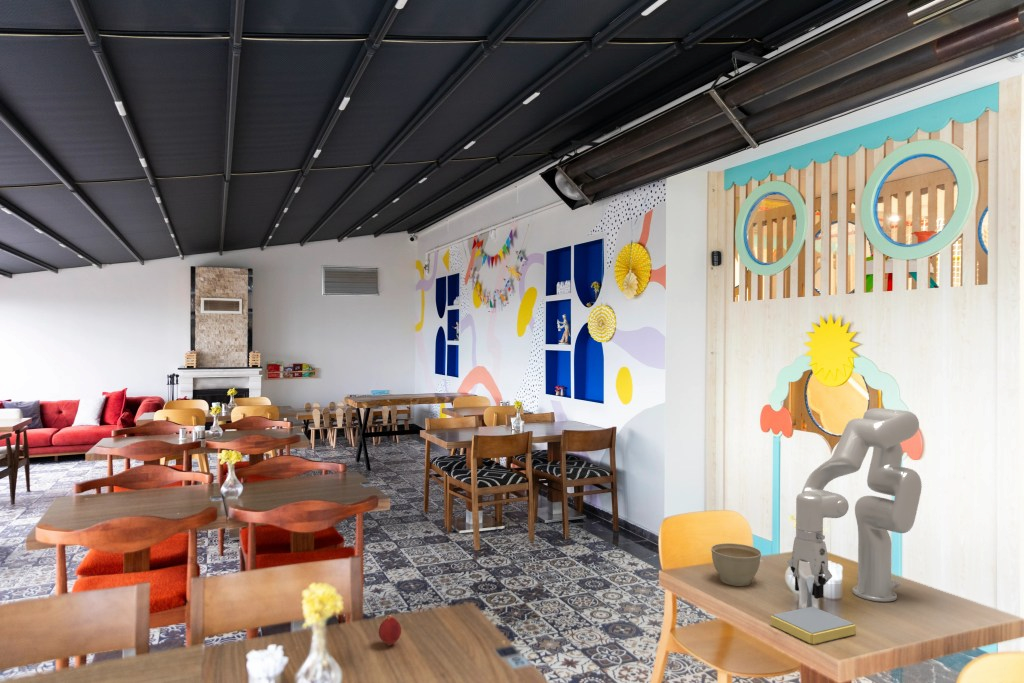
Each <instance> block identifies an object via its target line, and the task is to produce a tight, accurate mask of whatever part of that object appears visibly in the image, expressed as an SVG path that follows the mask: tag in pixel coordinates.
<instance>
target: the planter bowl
mask: <svg viewBox="0 0 1024 683" xmlns="http://www.w3.org/2000/svg"><path fill="white" fill-rule="evenodd" d="M710 551H711V558H712V564H713V566H714V569H715V570H716V572H717V574H718V575H719V577H720V581H721V582H722V583H724V584H726V585H730V586H733V587H746V586H749V585H751V582H752V580H753V578H755V576H756V574H757V573H758V570H759V568H760V564H761V557H762V552H761V550H760V549H758V548H756V547H753V546H750V545H747V544H739V543H732V542H731V543H729V542H726V543H725V542H723V543H718V544H714V545H712V546H711V548H710Z"/></svg>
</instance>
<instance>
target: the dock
mask: <svg viewBox="0 0 1024 683" xmlns="http://www.w3.org/2000/svg"><path fill="white" fill-rule="evenodd" d="M770 625H771V626H772V627H775V628H777V629H779V630H781V631H783V632H785V633H788V634H790V635H792V636H793V637H795V638H798V639H800V640H802V641H804V642H806V643H808V644H811V645H816V644H820V643H825V642H828V641H832V640H833V641H834V640H837V639H840V638H844V637H845V638H846V637H849V636H854V635H856V634H857V633H856V632H857V630H856V629H857V626H856V624H855V623H854V622H851V621H849V620H846V619H844V618H841V617H840V616H837V615H834V614H832V613H829V612H827V611H825V610H823V609H821V608H820V609H818V608H815V607H808V608H803V609H799V608H798V609H793V610H790V611H785V612H784V611H783V612H780V613H774V614H772V615H771V616H770Z"/></svg>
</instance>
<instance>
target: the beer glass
mask: <svg viewBox="0 0 1024 683" xmlns="http://www.w3.org/2000/svg"><path fill="white" fill-rule="evenodd" d="M819 574H820V572H819ZM818 578H819V580H820V576H818ZM797 581H798V587H799V591H798V592H799V597H798V598H799V600H798V603H797V604H798V606H797V608H798V609H803V608H808V607H815V608H818V609H820V610H821V608H820V602H819V598H818V599H816V598H814V585H816V583H815V580H814V575H812V573H811V568H810V563H809V562H805V561H802V560H799V559H798V560H797Z"/></svg>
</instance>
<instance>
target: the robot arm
mask: <svg viewBox="0 0 1024 683" xmlns="http://www.w3.org/2000/svg"><path fill="white" fill-rule="evenodd" d="M919 428H920V421H919V418H918V417H917V415H916V414H915V413H913V412H911V411H908V410H902V409H890V408H882V407H881V408H880V407H879V408H876V407H875V408H869V409H867V410H866V411H865V412H864V414H863V418H860V417H859V418H853V419H851V420H849V421H848V422H847V424H846V425H845V428H844V429H843V431H842V434H841V436H840V438H839V440H838V443H837V445H836V447H835V449H834V452H833V454H832V456H831V457H830V458H829V459H828V460H826V461H824V462H823V463H822V464H820V465H819V466H818V467H817V468H816V469H814V470H813V471H812V472H811V473H810V474H809V475H808V478H807V479H806V481H805V483H804V486H803V488H802V491H801V493H799V494H797V496H796V499H795V500H796V501H795V503H796V504H795V505H796V507H795V508H796V509H795V512H796V513H795V520H796V521H795V522H796V523H795V536H794V540H793V545H792V553H791V554H792V557H791V558H789V559H788V560H787V564H788V566H789V567H790V570H791V572H792V576H793V577H794V591H796V592H799V587H798V581H797V560H798V559H799V560H802V561H805V562H809V563H810V568H811V573H812V575H814V580H815V583H816V585H814V598H816V599H818V600H819V599H821V598H824V585H826V584H827V583H828V582H829V580H831V579H832V578H833V575H832V572H830V570H829V557H828V550H827V546H826V545H827V544H826V541H824V540H825V538H826V536H825V535H824V533H823V532H824V531H823V530H824V518H826V519H829V518H830V519H840V518H842V517H844V516H846V514H848V511H849V505H850V504H849V502H848V500H847V498H846V497H844V496H843V495H842V494H839V493H836V492H832V491H829V490H825V487H826V486H827V485H828V484H829V483H830V482H831V481H833V480H834V479H836V478H840V477H843V476H847V475H850V474H854V473H856V472H858V471H860V469H861V467H862V465H863V462H864V460H865V458H866V455H867V453H868V451H869V449H870V448H871V447H872V448H873V450H872V456H871V461H870V464H869V467H868V468H869V469H868V473H867V480H866V483H867V487H868V488H869V489H870V490H871V491H873V492H875V493H879V494H883V495H888V496H892V497H894V498H893V500H892V499H889V498H885V497H880V496H875V495H865V496H861V497H860V498H858V499H857V501H856V502H855V505H854V514H855V520H856V525H857V535H858V536H857V538H858V540H857V552H858V553H857V585H855V586H853V587H852V593H853V595H855V596H857V597H858V598H861V599H865V600H868V601H874V602H882V603H885V602H886V603H887V602H893V601H895V600H897V599H898V596H897V595H898V594H897V593H896V592H895V591H893V589H894V588H899V587H901V582H900V581H899V580H892V539H891V538H892V537H891V536H890V533H889V531H890V532H893V533H898V534H906V533H908V532H910V531H911V530H912V528H913V527H914V524H915V521H916V517H917V513H918V512H917V511H918V508H919V505H920V504H919V502H920V499H921V494H922V488H923V487H922V486H923V485H922V479H921V477H920V474H919V473H918V472H917V471H916V470H914V469H912V468H910V467H903V466H901V465H902V460H903V454H904V453H903V452H904V451H903V447H902V444H901V443H903V442H904V441H907V440H909V439H911V438H913V437H914V436H916V434H917V432H918V431H919ZM819 572H820V574H819ZM818 576H820V580H819V578H818Z"/></svg>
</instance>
